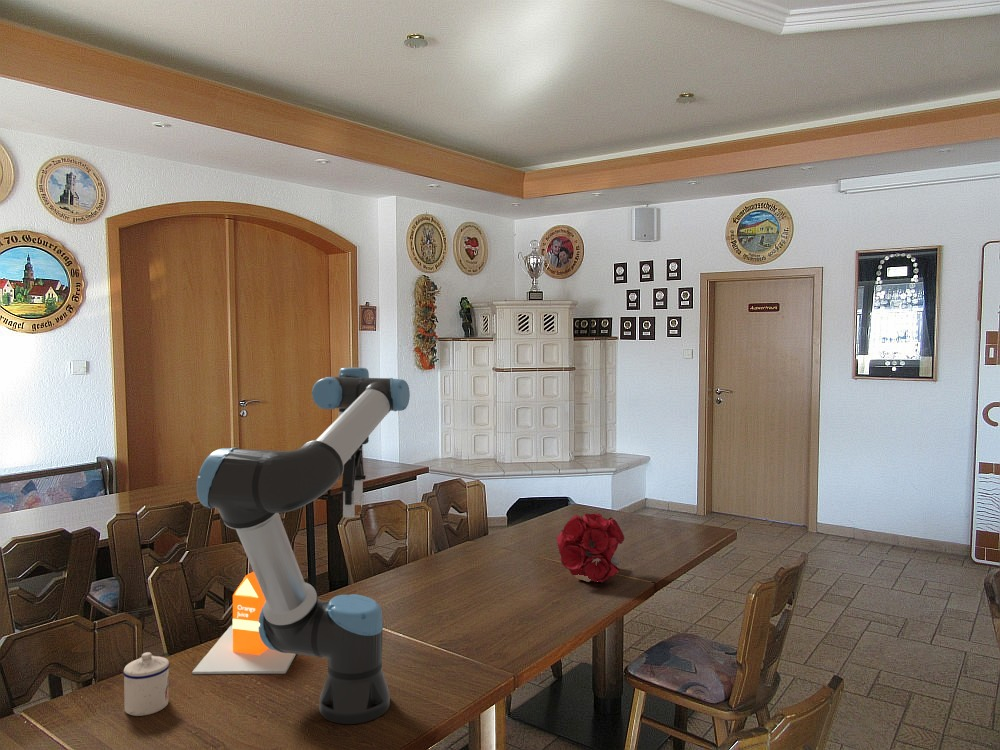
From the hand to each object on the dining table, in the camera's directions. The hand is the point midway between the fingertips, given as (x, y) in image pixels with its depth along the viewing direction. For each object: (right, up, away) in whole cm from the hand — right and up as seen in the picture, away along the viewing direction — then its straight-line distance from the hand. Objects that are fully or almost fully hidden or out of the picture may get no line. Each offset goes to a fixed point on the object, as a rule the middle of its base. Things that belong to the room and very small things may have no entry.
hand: (353, 510), depth 182 cm
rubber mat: (-26, -36, +2) cm, 44 cm away
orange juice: (-26, -36, +3) cm, 44 cm away
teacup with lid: (-40, -38, -26) cm, 61 cm away
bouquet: (+70, -35, +62) cm, 100 cm away
